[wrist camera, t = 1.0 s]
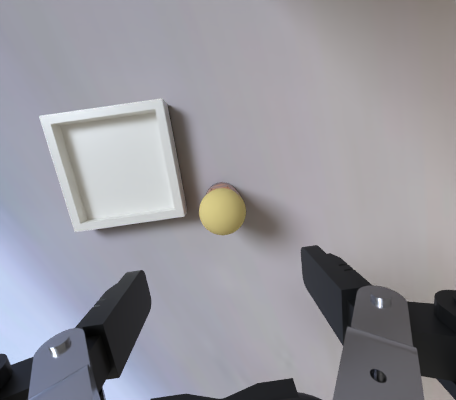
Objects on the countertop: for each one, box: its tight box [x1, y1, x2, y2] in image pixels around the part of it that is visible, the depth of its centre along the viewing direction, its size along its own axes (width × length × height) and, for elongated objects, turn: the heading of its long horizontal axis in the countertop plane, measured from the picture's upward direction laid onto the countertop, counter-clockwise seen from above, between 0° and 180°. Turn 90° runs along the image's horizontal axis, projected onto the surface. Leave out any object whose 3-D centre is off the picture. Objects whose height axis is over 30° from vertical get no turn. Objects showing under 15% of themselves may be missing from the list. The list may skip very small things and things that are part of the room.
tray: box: [39, 98, 187, 232], centre depth 27 cm, size 14×14×2 cm
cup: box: [205, 182, 241, 197], centre depth 27 cm, size 5×5×5 cm
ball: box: [199, 188, 246, 235], centre depth 23 cm, size 5×5×5 cm
